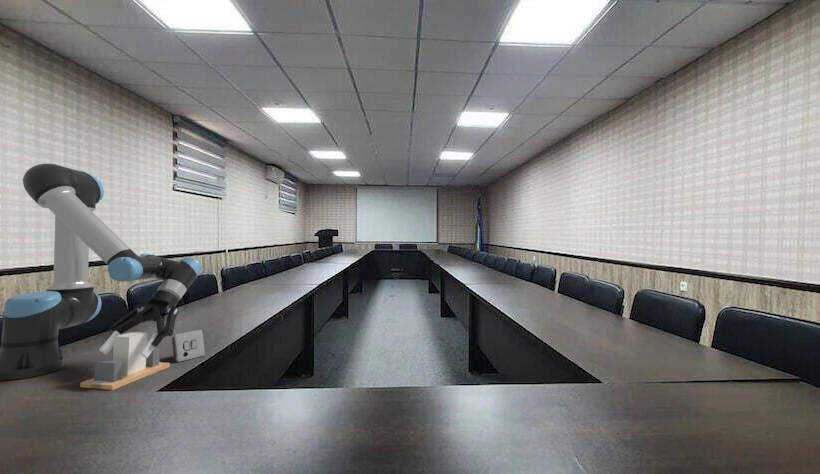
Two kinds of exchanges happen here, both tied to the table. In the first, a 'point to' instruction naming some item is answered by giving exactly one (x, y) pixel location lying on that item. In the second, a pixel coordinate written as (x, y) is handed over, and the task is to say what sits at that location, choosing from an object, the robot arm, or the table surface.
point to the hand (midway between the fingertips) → (122, 354)
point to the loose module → (130, 351)
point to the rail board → (128, 378)
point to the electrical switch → (188, 345)
